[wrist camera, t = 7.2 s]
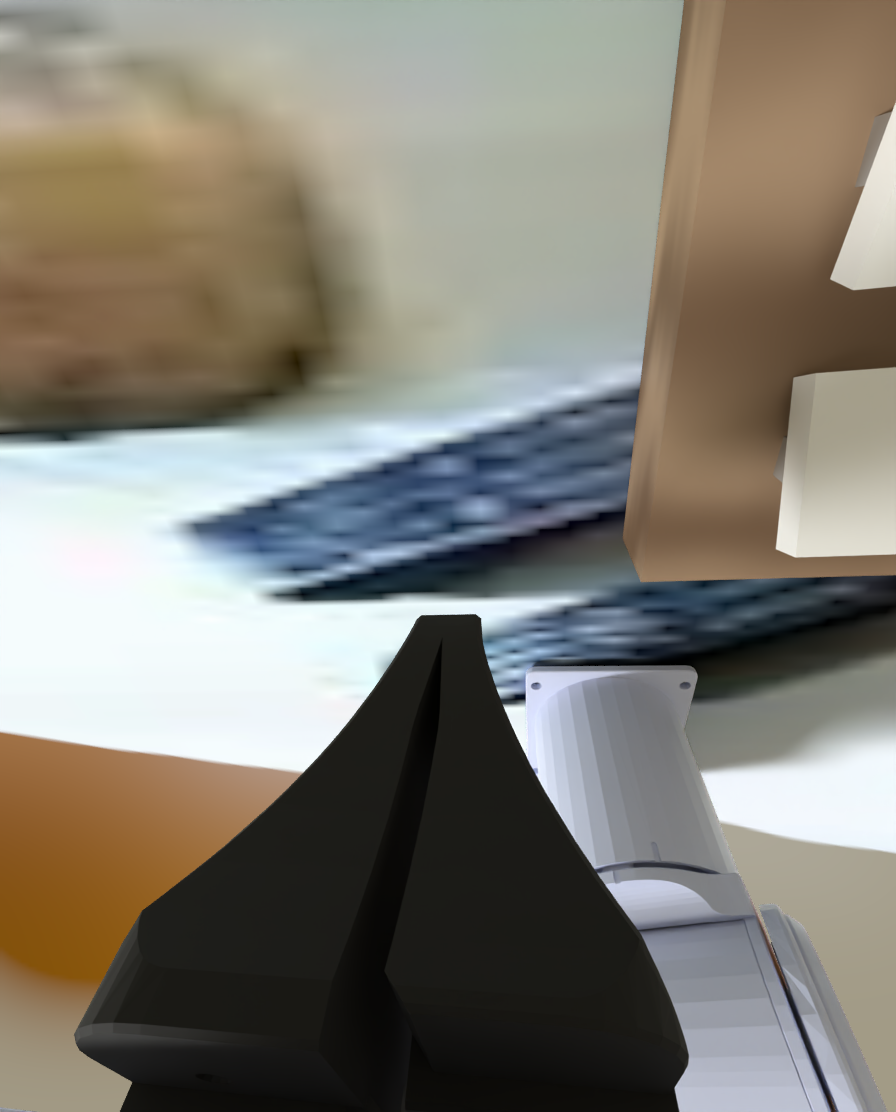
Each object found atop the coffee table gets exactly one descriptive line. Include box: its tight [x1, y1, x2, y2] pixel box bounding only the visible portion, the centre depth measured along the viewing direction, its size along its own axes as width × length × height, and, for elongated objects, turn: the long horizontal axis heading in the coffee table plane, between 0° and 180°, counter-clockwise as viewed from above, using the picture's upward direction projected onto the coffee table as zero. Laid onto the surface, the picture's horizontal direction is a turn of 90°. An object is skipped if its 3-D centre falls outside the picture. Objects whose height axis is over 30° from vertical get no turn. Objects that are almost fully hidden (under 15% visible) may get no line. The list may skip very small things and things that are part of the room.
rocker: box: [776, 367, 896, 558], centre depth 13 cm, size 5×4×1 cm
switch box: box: [623, 0, 896, 582], centre depth 13 cm, size 16×10×4 cm, turn 6°
